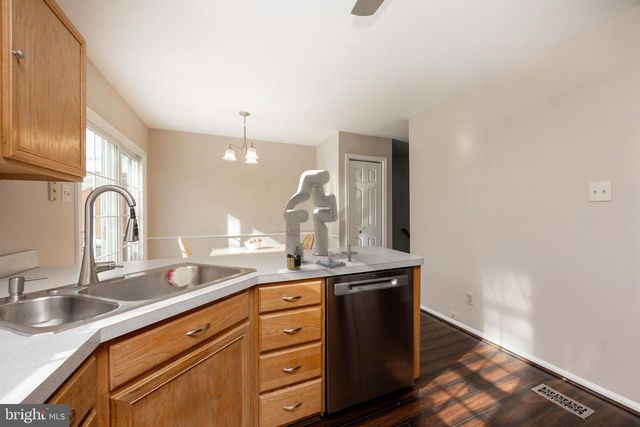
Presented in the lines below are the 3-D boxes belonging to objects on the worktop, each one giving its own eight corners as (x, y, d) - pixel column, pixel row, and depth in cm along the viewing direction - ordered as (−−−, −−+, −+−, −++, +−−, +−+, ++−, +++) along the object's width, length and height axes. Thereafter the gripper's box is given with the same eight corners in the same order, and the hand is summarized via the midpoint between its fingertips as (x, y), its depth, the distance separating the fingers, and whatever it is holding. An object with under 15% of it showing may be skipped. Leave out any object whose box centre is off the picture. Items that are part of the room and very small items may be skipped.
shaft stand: (315, 263, 157) (315, 250, 157) (331, 261, 162) (331, 249, 162) (329, 268, 145) (328, 254, 145) (345, 265, 150) (345, 252, 150)
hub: (285, 267, 147) (285, 256, 147) (296, 266, 150) (296, 255, 150) (290, 270, 142) (290, 258, 142) (301, 268, 145) (301, 257, 145)
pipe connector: (357, 263, 157) (357, 245, 157) (340, 262, 159) (339, 245, 159) (358, 259, 167) (358, 243, 167) (342, 259, 169) (342, 243, 169)
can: (292, 263, 160) (291, 242, 159) (286, 260, 168) (286, 241, 167) (306, 261, 164) (306, 241, 164) (300, 259, 172) (300, 240, 172)
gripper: (280, 232, 151) (280, 263, 151) (293, 234, 136) (294, 268, 137) (292, 231, 155) (293, 261, 155) (307, 233, 140) (307, 266, 141)
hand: (293, 264), depth 146 cm, fingers open, 9 cm apart
